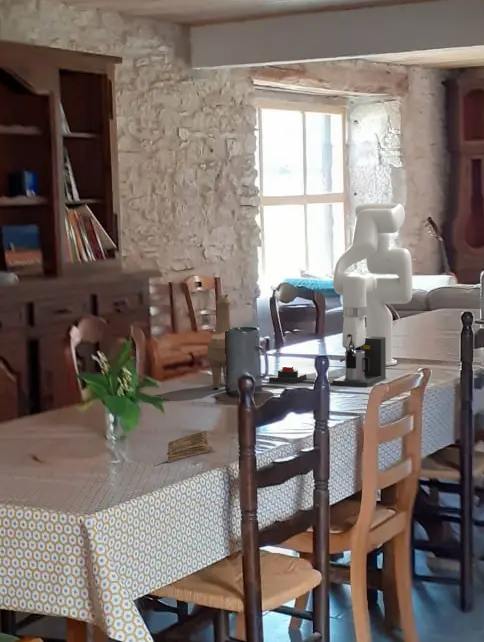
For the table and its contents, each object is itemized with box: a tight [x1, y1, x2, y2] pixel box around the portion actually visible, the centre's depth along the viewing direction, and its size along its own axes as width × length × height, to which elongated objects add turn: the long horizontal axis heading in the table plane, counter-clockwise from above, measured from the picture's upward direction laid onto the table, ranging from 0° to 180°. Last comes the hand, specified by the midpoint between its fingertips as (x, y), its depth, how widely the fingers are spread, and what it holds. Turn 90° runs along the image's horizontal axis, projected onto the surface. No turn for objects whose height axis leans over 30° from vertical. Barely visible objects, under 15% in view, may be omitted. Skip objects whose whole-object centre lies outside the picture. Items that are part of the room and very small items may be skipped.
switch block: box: [268, 368, 307, 385], centre depth 394 cm, size 11×9×4 cm
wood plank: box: [166, 430, 213, 463], centre depth 284 cm, size 15×2×5 cm, turn 141°
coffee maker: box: [332, 335, 387, 388], centre depth 389 cm, size 19×12×14 cm, turn 153°
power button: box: [281, 365, 294, 371], centre depth 393 cm, size 4×4×2 cm
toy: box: [206, 293, 233, 391], centre depth 382 cm, size 9×20×30 cm, turn 174°
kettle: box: [339, 349, 369, 380], centre depth 385 cm, size 6×10×9 cm, turn 63°
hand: (354, 366), depth 385 cm, fingers closed on kettle, 6 cm apart
